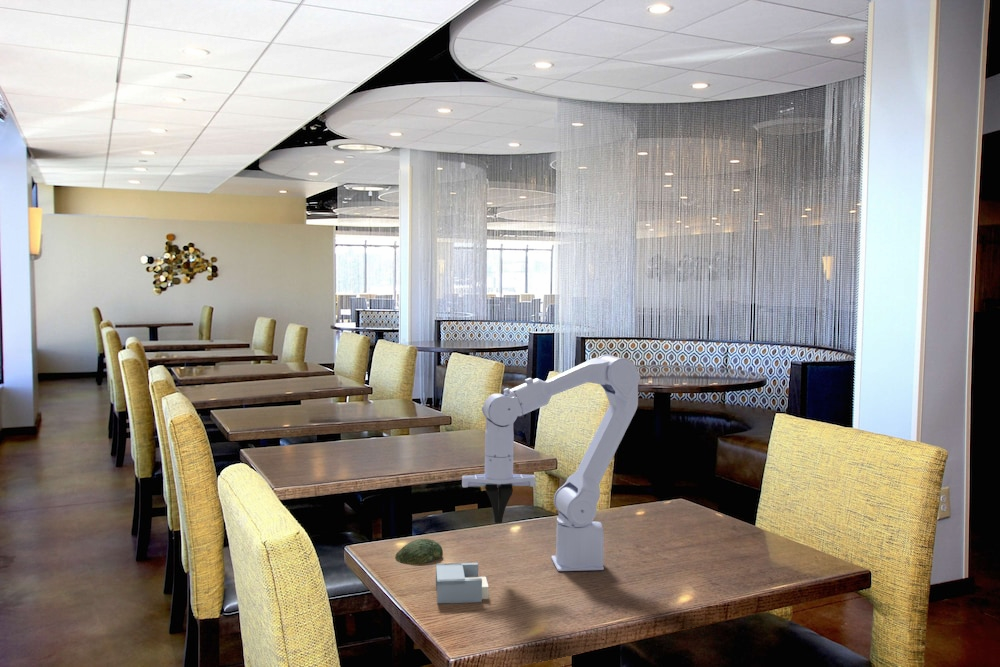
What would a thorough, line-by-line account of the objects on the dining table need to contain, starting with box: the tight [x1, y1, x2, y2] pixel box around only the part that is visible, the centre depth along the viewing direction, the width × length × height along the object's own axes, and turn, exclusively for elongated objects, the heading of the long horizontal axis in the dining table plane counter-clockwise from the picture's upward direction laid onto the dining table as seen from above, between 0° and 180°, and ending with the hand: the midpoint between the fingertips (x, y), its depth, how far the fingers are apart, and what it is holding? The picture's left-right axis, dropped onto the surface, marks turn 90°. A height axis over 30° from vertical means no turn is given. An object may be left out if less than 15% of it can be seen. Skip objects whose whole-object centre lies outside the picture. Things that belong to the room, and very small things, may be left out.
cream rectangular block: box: [465, 576, 490, 600], centre depth 143 cm, size 8×5×3 cm, turn 97°
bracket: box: [435, 562, 483, 604], centre depth 144 cm, size 8×9×4 cm
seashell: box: [394, 538, 444, 565], centre depth 163 cm, size 10×4×10 cm
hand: (498, 521), depth 155 cm, fingers closed
